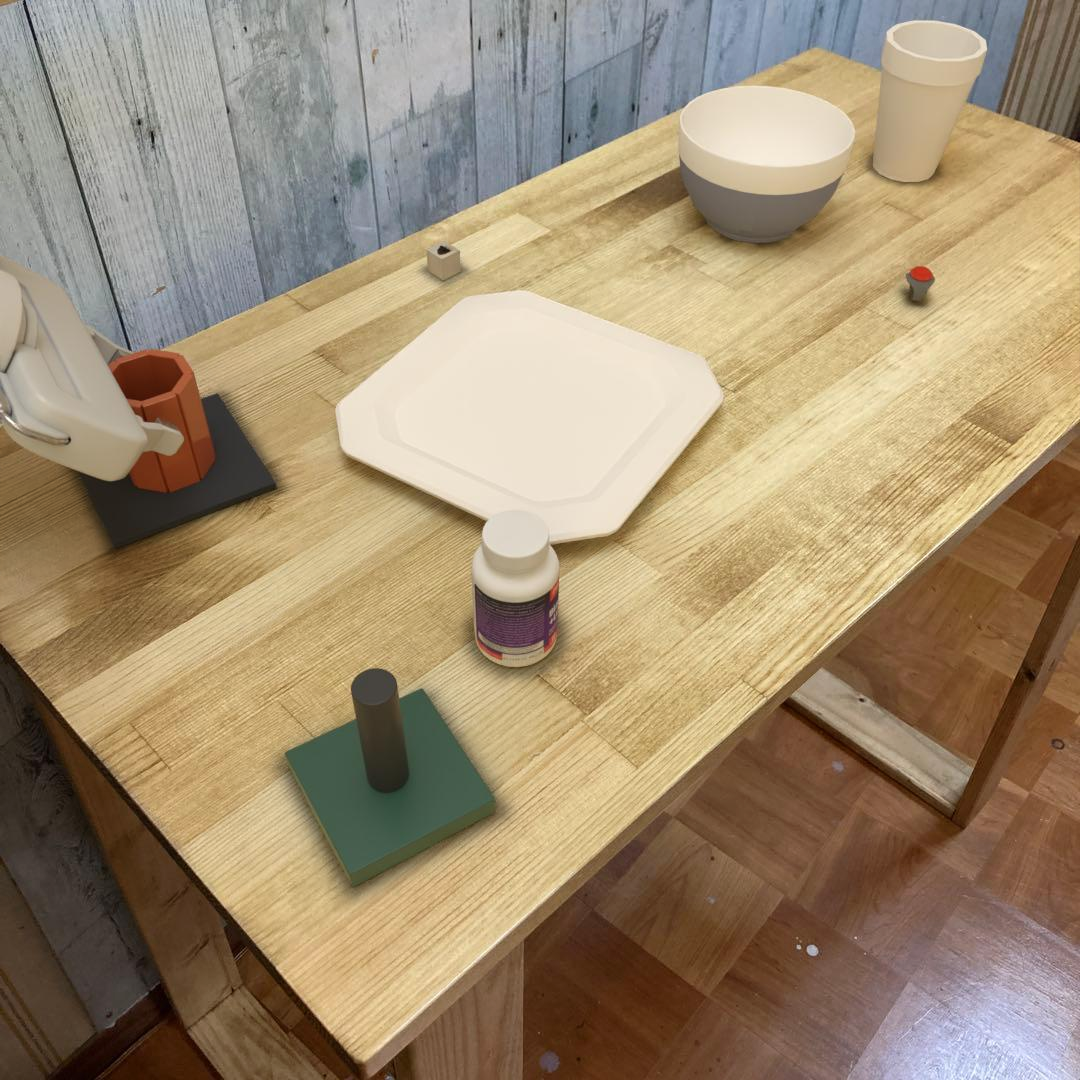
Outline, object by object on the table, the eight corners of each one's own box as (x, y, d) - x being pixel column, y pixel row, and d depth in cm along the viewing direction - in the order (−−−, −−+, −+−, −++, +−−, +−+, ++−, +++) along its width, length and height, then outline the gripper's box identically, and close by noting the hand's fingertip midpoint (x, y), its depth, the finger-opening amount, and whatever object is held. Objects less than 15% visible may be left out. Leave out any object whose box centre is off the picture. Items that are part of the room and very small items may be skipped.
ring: (926, 290, 101) (935, 262, 99) (930, 307, 100) (939, 278, 98) (898, 289, 102) (906, 260, 99) (901, 305, 100) (910, 276, 98)
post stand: (352, 888, 61) (329, 790, 54) (287, 765, 67) (259, 662, 59) (496, 812, 65) (492, 710, 57) (423, 701, 70) (412, 595, 63)
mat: (114, 549, 79) (112, 543, 78) (67, 450, 86) (65, 444, 85) (276, 488, 83) (275, 482, 83) (219, 398, 90) (217, 392, 90)
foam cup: (838, 163, 117) (866, 36, 108) (894, 136, 122) (925, 12, 112) (912, 199, 112) (948, 70, 103) (968, 170, 117) (1007, 43, 107)
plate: (586, 584, 77) (587, 562, 75) (305, 451, 86) (301, 429, 84) (743, 391, 91) (747, 369, 90) (489, 295, 100) (488, 273, 99)
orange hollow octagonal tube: (143, 502, 81) (114, 416, 75) (116, 453, 85) (86, 367, 79) (226, 472, 83) (203, 386, 77) (196, 425, 87) (172, 339, 81)
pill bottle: (567, 660, 72) (572, 556, 65) (485, 677, 71) (481, 574, 64) (544, 598, 76) (547, 493, 69) (466, 613, 75) (460, 509, 68)
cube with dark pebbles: (461, 271, 103) (459, 247, 101) (443, 281, 102) (441, 256, 100) (445, 262, 104) (444, 238, 102) (427, 271, 103) (425, 246, 101)
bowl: (721, 278, 102) (735, 181, 96) (640, 195, 112) (648, 102, 106) (867, 241, 107) (891, 146, 100) (777, 165, 117) (793, 73, 110)
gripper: (26, 380, 62) (231, 453, 72) (-52, 214, 74) (133, 297, 85) (-29, 468, 63) (179, 527, 74) (-97, 292, 76) (90, 364, 86)
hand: (154, 403), depth 79 cm, fingers open, 8 cm apart
